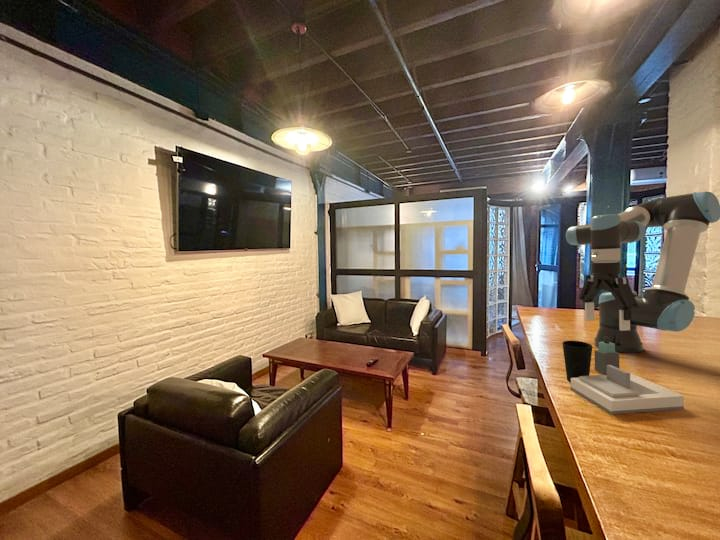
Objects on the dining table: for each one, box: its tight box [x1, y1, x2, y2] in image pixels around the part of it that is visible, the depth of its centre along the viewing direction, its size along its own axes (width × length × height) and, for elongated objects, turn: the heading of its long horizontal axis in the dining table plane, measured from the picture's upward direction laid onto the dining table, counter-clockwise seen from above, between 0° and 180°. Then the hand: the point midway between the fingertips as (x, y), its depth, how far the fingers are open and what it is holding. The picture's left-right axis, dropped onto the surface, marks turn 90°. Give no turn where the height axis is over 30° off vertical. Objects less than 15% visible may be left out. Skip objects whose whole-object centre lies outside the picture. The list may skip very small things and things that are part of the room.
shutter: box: [579, 365, 640, 397], centre depth 82 cm, size 7×11×5 cm, turn 2°
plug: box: [594, 336, 620, 376], centre depth 99 cm, size 5×4×12 cm
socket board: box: [570, 373, 685, 415], centre depth 82 cm, size 19×14×4 cm
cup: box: [561, 340, 593, 383], centre depth 94 cm, size 8×8×12 cm
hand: (606, 325), depth 99 cm, fingers open, 13 cm apart
